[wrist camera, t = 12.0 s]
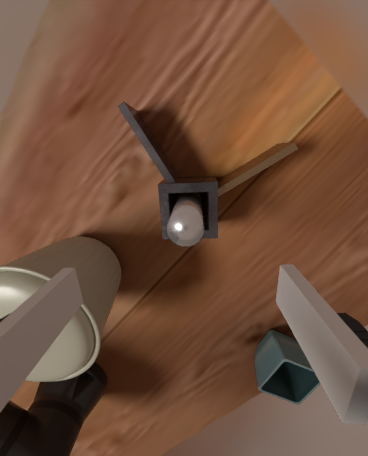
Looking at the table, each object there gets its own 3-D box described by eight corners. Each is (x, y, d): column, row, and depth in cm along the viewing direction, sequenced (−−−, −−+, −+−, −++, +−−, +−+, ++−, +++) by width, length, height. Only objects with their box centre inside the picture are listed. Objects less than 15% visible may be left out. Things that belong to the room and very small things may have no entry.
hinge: (144, 224, 38) (133, 239, 31) (131, 111, 32) (113, 100, 25) (273, 221, 36) (289, 236, 29) (285, 101, 30) (310, 86, 23)
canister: (27, 252, 41) (-131, 344, 21) (93, 201, 37) (-29, 258, 17) (89, 314, 46) (7, 439, 26) (155, 276, 41) (115, 390, 21)
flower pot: (304, 333, 44) (329, 376, 35) (280, 360, 47) (299, 406, 38) (267, 318, 43) (284, 358, 35) (246, 346, 46) (256, 390, 38)
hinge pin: (178, 212, 37) (168, 246, 23) (177, 189, 35) (165, 212, 22) (201, 212, 36) (204, 246, 23) (200, 189, 35) (203, 211, 22)
